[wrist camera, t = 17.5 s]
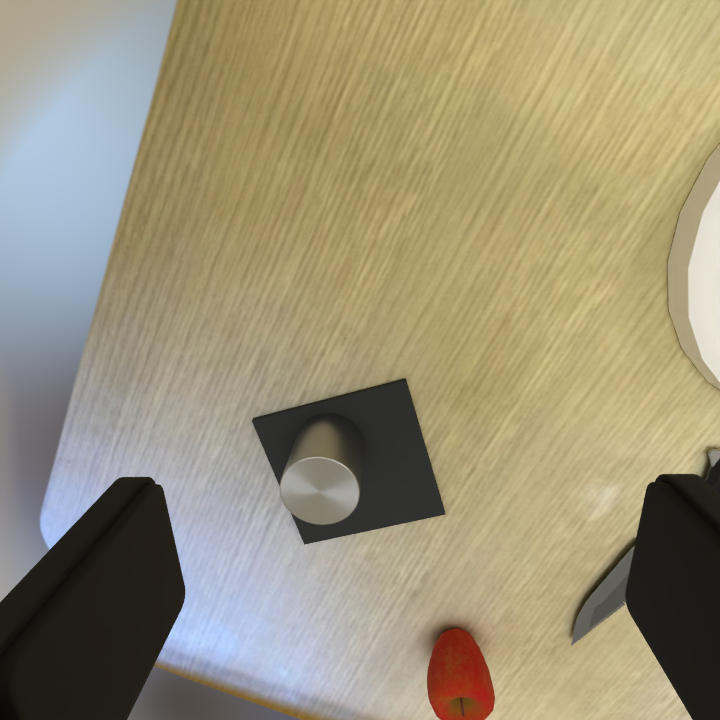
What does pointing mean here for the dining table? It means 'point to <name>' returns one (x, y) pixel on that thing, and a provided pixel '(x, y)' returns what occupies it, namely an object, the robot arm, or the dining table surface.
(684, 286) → the plate
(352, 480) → the brushed metal cylinder
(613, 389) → the dining table surface
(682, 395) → the dining table surface
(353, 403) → the mat
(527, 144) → the dining table surface
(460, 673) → the apple
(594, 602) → the knife
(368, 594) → the dining table surface
